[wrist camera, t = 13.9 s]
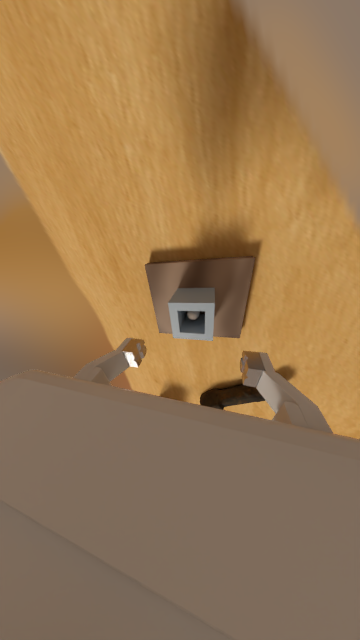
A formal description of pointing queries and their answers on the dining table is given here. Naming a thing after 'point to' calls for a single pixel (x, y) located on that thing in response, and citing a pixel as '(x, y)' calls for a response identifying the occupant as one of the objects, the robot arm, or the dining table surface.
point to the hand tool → (230, 397)
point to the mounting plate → (204, 273)
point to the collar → (192, 302)
